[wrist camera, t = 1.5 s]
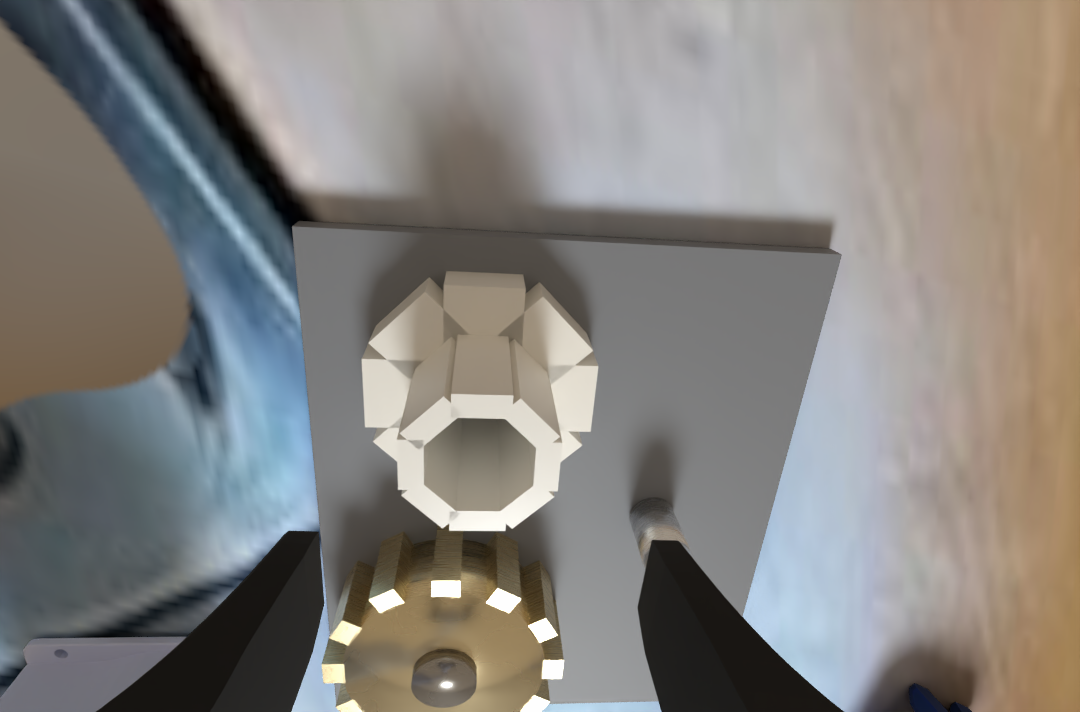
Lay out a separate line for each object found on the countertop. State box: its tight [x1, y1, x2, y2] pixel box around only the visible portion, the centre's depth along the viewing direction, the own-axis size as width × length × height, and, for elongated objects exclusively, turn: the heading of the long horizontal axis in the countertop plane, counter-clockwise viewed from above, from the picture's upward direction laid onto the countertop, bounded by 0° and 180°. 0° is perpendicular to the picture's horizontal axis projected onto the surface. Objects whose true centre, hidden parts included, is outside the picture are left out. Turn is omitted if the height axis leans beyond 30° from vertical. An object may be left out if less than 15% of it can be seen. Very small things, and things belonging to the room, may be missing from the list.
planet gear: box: [362, 271, 598, 531], centre depth 19 cm, size 8×8×6 cm
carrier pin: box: [629, 497, 692, 569], centre depth 23 cm, size 2×2×3 cm
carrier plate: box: [292, 221, 842, 704], centre depth 25 cm, size 18×22×1 cm
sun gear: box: [322, 524, 564, 712], centre depth 25 cm, size 9×9×4 cm
